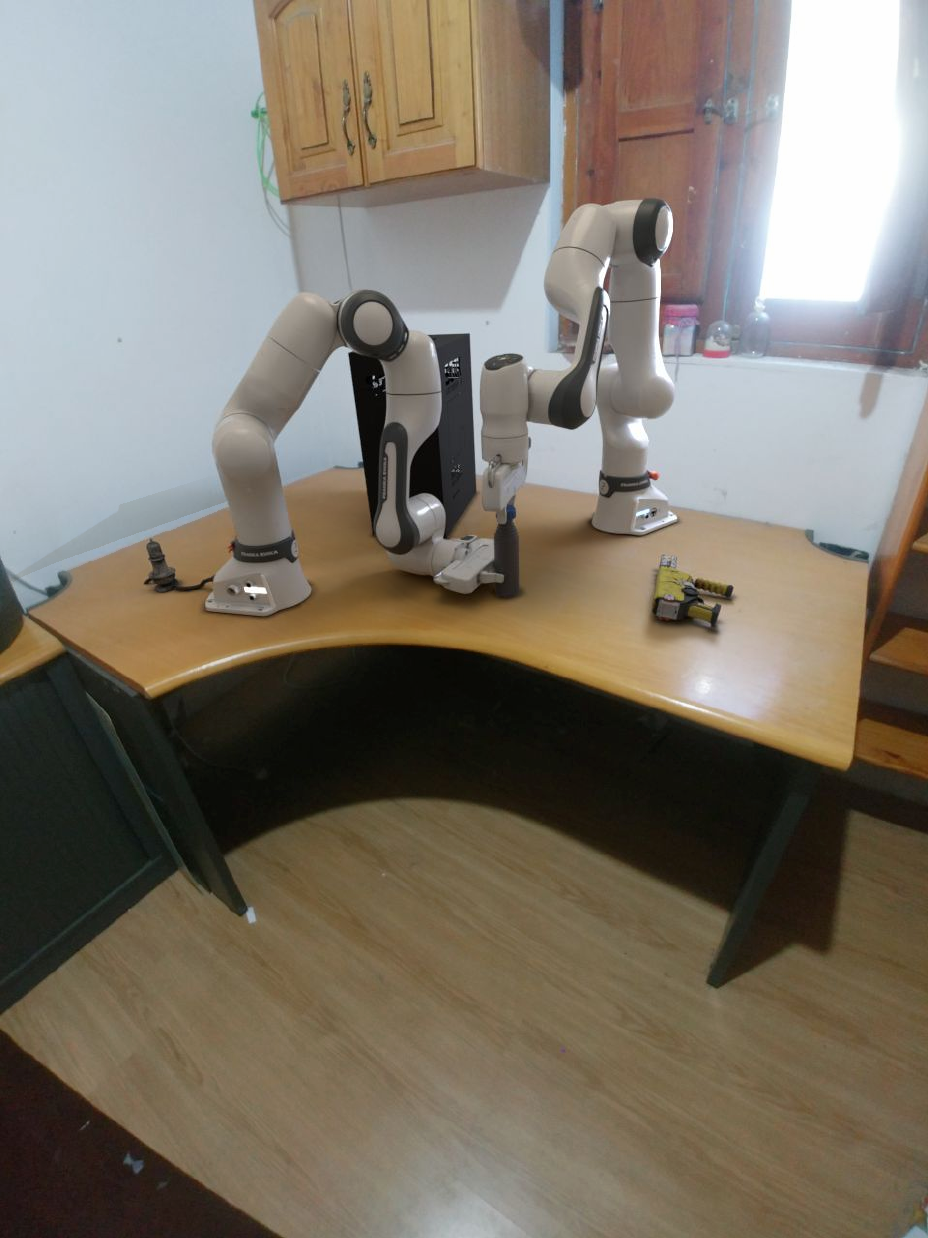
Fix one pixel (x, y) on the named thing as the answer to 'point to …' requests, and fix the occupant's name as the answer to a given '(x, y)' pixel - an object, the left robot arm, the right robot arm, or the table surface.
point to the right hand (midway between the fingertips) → (506, 517)
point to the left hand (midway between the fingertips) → (510, 571)
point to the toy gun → (684, 594)
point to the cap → (510, 512)
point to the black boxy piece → (442, 446)
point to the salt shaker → (160, 568)
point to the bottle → (507, 559)
